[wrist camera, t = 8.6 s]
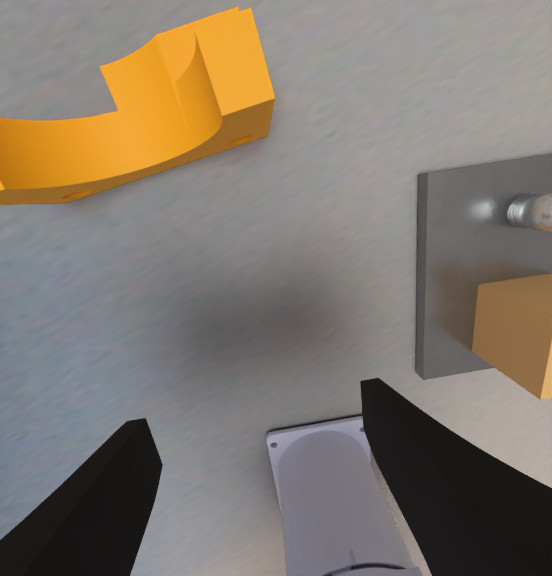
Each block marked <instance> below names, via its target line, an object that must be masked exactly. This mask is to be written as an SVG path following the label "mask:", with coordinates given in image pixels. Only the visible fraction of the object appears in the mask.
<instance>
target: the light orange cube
mask: <svg viewBox="0 0 552 576" xmlns="http://www.w3.org/2000/svg"><path fill="white" fill-rule="evenodd" d="M472 352H473V353H475V354H476V355H478V356H479V357H481V358H482V359H483V360H485V361H486V362H488V363H489V364H491V365H492V366H493V367H495V368H496V369H498V370H499V371H500V372H502V373H503V374H505V375H506V376H508V377H509V378H510V379H512V380H513V381H515V382H516V383H518V384H519V385H520V386H522V387H523V388H525V389H526V390H527V391H529V392H530V393H532V394H533V395H535V396H536V397H537V398H539V399H546V398H552V273H550V274H544V275H537V276H530V277H524V278H517V279H511V280H504V281H498V282H491V283H485V284H478V293H477V304H476V314H475V324H474V334H473V345H472Z"/></svg>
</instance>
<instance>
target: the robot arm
mask: <svg viewBox="0 0 552 576" xmlns="http://www.w3.org/2000/svg"><path fill="white" fill-rule="evenodd" d="M360 382H361V398H362V415H363V416H358V417H353V418H347V419H341V420H335V421H330V422H324V423H318V424H313V425H307V426H301V427H296V428H290V429H284V430H278V431H273V432H269V433H268V434H267V436H266V441H267V446H268V451H269V456H270V461H271V466H272V471H273V476H274V481H275V486H276V491H277V496H278V501H279V506H280V511H281V516H282V525H283V536H284V548H285V559H286V571H287V576H423V575H422V573H421V571H420V568H419V567H415V566H414V564H413V562H412V559H411V557H410V555H409V552H408V550H407V548H406V545H405V543H404V541H403V539H402V536H401V534H400V532H399V529H398V527H397V525H396V523H395V520H394V518H393V516H392V513H391V511H390V509H389V506H388V504H387V502H386V500H385V497H384V495H383V493H382V490H381V488H380V486H379V483H378V481H377V479H376V477H375V474H374V472H373V470H372V467H371V456H370V448H371V451H372V453H373V456H374V458H375V461H376V463H377V465H378V467H379V469H380V471H381V473H382V475H383V477H384V479H385V481H386V483H387V485H388V486H389V488H390V490H391V492H392V494H393V496H394V498H395V500H396V502H397V504H398V506H399V508H400V510H401V512H402V514H403V516H404V518H405V520H406V522H407V524H408V526H409V527H410V529H411V531H412V533H413V535H414V537H415V539H416V541H417V543H418V545H419V548H420V550H421V552H422V554H423V556H424V558H425V560H426V563H427V565H428V567H429V570H430V572H431V574H432V576H552V488H550V487H548V486H546V485H544V484H542V483H540V482H539V481H537V480H535V479H533V478H531V477H529V476H527V475H525V474H523V473H522V472H520V471H518V470H516V469H514V468H513V467H511V466H509V465H507V464H505V463H504V462H502V461H500V460H498V459H497V458H495V457H493V456H491V455H490V454H488V453H486V452H484V451H483V450H481V449H479V448H478V447H476V446H475V445H473V444H471V443H470V442H468V441H467V440H465V439H463V438H462V437H460V436H459V435H457V434H456V433H454V432H452V431H451V430H449V429H448V428H446V427H445V426H443V425H442V424H440V423H439V422H438V421H436V420H435V419H433V418H432V417H430V416H429V415H428V414H426V413H425V412H423V411H422V410H421V409H419V408H418V407H416V406H415V405H414V404H412V403H411V402H410V401H408V400H407V399H406V398H404V397H403V396H402V395H400V394H399V393H398V392H396V391H395V390H394V389H392V388H391V387H390V386H388V385H387V384H386V383H384V382H383V381H382V380H380V379H379V378H375V379H370V380H364V381H360ZM361 427H363V428H361ZM272 443H275V444H272ZM162 465H163V464H162V462H161V459H160V456H159V453H158V451H157V448H156V445H155V442H154V440H153V437H152V434H151V431H150V429H149V426H148V423H147V420H146V418H143V419H137V420H131V421H127V422H126V423H125V424H124V425H122V426H121V427H120V428H119V429H118V430H117V431H116V432H115V433H114V434H113V435H112V436H111V437H110V438H109V439H108V440H107V441H106V442H105V443H104V444H103V445H102V446H101V447H100V448H99V449H98V450H96V451H95V452H94V453H93V454H92V455H91V456H90V457H89V458H88V459H87V460H86V461H85V462H84V463H83V464H82V465H81V466H80V467H79V468H78V469H77V470H76V471H75V472H74V473H73V474H72V475H71V476H70V477H69V478H68V479H67V480H66V481H65V482H64V483H63V484H62V485H61V486H59V487H58V488H57V489H56V490H55V491H54V492H53V493H52V494H51V495H50V496H49V497H48V498H46V499H45V500H44V501H43V502H42V503H41V504H40V505H39V506H38V507H37V508H36V509H35V510H33V511H32V512H31V513H30V514H29V515H28V516H27V517H26V518H25V519H24V520H23V521H22V522H20V523H19V524H18V525H17V526H16V527H15V528H14V529H12V530H11V531H10V532H9V533H8V534H7V535H6V536H4V537H3V538H2V539H1V540H0V576H130V574H131V571H132V568H133V565H134V562H135V559H136V556H137V553H138V550H139V547H140V544H141V541H142V538H143V535H144V532H145V529H146V526H147V523H148V520H149V517H150V514H151V511H152V508H153V505H154V502H155V498H156V493H157V489H158V485H159V480H160V475H161V470H162Z"/></svg>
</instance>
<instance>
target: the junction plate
mask: <svg viewBox="0 0 552 576" xmlns="http://www.w3.org/2000/svg"><path fill="white" fill-rule="evenodd" d="M550 273H552V154H548V155H542V156H535V157H529V158H522V159H516V160H509V161H503V162H496V163H490V164H483V165H477V166H470V167H464V168H457V169H451V170H444V171H438V172H431V173H425V174H418V234H417V315H416V373H417V374H418V375H419V376H420V377H421V378H422V379H423V380H426V379H431V378H437V377H443V376H449V375H454V374H460V373H466V372H472V371H478V370H483V369H489V368H495V367H493V366H492V365H491V364H489V363H488V362H486V361H485V360H483V359H482V358H481V357H479V356H478V355H476V354H475V353H473V352H472V345H473V334H474V324H475V314H476V304H477V293H478V284H485V283H491V282H498V281H504V280H511V279H517V278H524V277H530V276H537V275H544V274H550Z"/></svg>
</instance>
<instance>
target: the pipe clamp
mask: <svg viewBox="0 0 552 576" xmlns="http://www.w3.org/2000/svg"><path fill="white" fill-rule="evenodd" d="M100 69H101V71H102V73H103V76H104V78H105V80H106V83H107V85H108V87H109V90H110V92H111V94H112V97H113V99H114V101H115V104H116V106H117V108H118V111H114V112H110V113H106V114H102V115H97V116H91V117H85V118H77V119H67V120H50V121H34V120H16V119H6V118H0V205H17V204H57V203H69V202H72V201H75V200H78V199H81V198H84V197H87V196H90V195H93V194H96V193H99V192H102V191H105V190H108V189H111V188H114V187H117V186H120V185H123V184H126V183H129V182H132V181H135V180H138V179H141V178H144V177H147V176H150V175H153V174H156V173H159V172H162V171H165V170H168V169H171V168H174V167H177V166H180V165H183V164H186V163H189V162H192V161H195V160H198V159H201V158H204V157H207V156H210V155H213V154H216V153H219V152H222V151H225V150H228V149H231V148H234V147H237V146H240V145H243V144H246V143H249V142H252V141H255V140H258V139H261V138H264V137H267V135H268V130H269V125H270V121H271V116H272V111H273V106H274V101H275V96H274V92H273V88H272V84H271V81H270V77H269V73H268V69H267V66H266V62H265V58H264V55H263V51H262V47H261V43H260V40H259V36H258V32H257V28H256V25H255V21H254V17H253V13H252V10H251V8H248V9H245V10H242V11H240V12H239V9H238V7H235V8H232V9H229V10H226V11H224V12H221V13H218V14H215V15H212V16H209V17H206V18H203V19H200V20H198V21H195V22H192V23H189V24H186V25H183V26H180V27H177V28H174V29H172V30H169V31H166V32H163V33H160V34H157V35H155V37H154V38H153V39H151V40H150V41H149V42H148V43H147V44H146V45H144V46H143V47H141V48H140V49H139V50H137V51H135V52H134V53H132V54H130V55H128V56H126V57H124V58H122V59H120V60H118V61H115V62H112V63H110V64H107V65H103V66H100Z"/></svg>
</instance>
